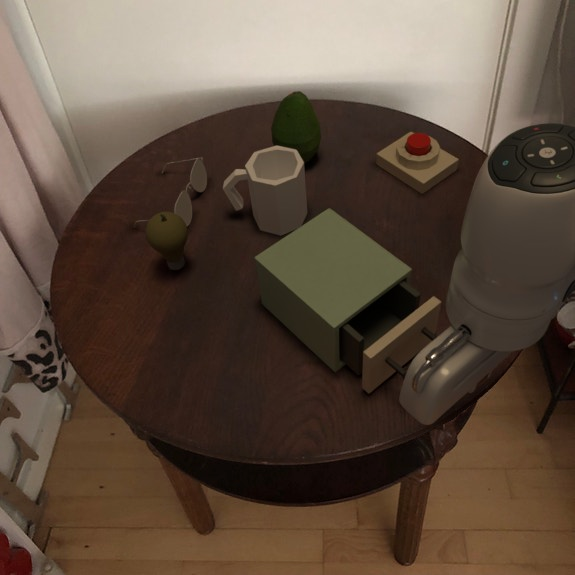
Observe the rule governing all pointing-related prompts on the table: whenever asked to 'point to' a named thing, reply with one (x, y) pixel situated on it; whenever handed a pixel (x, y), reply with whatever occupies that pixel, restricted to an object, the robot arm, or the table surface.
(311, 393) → the table surface
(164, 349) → the table surface
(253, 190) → the mug
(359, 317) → the drawer
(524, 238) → the robot arm
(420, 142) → the button
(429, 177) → the button block
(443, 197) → the table surface
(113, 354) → the table surface
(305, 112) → the fruit
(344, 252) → the cabinet
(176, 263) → the light bulb
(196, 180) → the sunglasses
